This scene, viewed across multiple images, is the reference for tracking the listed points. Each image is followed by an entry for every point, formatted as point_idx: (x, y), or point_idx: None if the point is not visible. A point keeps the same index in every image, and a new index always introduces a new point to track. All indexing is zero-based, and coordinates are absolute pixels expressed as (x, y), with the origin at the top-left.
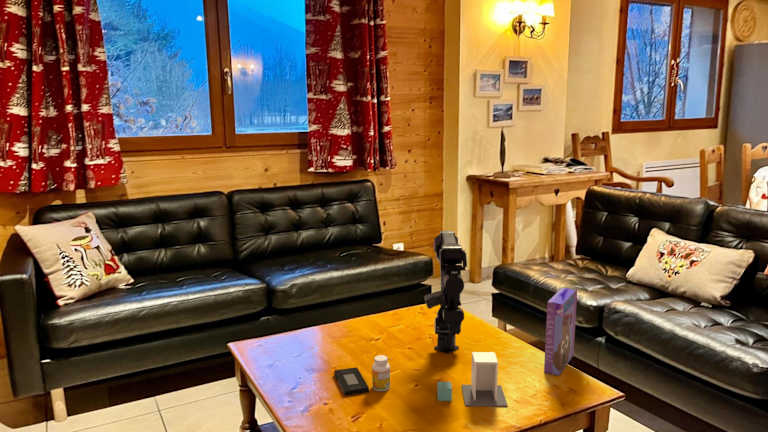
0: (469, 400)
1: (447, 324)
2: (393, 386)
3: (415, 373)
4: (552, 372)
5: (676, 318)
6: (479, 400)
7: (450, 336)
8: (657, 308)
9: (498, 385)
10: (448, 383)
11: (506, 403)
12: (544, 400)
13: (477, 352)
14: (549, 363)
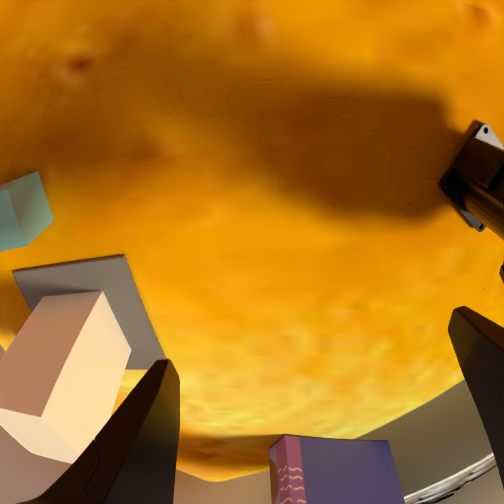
0: (36, 284)
1: (463, 318)
2: None
3: (198, 27)
4: (275, 446)
5: (448, 482)
6: None
7: (154, 364)
8: (480, 467)
9: None
10: (14, 237)
11: None
12: None
13: (53, 431)
14: (280, 462)
